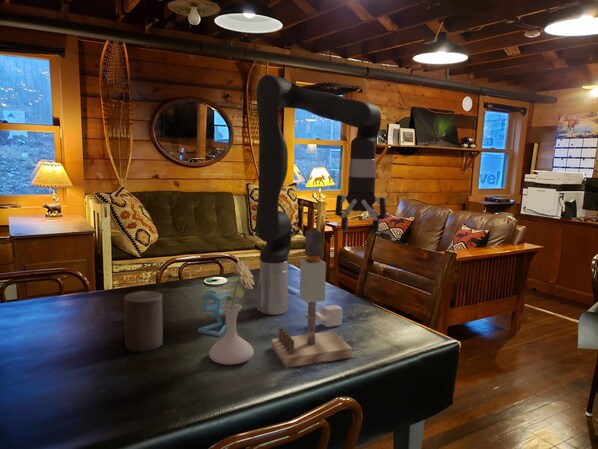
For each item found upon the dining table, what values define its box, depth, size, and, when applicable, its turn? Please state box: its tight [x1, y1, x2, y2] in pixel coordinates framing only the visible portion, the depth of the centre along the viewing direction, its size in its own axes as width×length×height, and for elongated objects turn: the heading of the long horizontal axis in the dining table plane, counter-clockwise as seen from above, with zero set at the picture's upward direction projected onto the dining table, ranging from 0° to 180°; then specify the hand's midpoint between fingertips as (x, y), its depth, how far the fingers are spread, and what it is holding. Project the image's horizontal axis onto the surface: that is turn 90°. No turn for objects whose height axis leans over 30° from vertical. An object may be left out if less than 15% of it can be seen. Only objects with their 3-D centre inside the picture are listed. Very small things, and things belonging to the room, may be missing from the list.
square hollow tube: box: [299, 258, 327, 303], centre depth 115 cm, size 5×5×10 cm
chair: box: [197, 290, 232, 338], centre depth 132 cm, size 8×8×12 cm
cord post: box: [271, 229, 353, 369], centre depth 116 cm, size 18×12×32 cm, turn 111°
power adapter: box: [305, 304, 343, 328], centre depth 136 cm, size 11×5×6 cm, turn 116°
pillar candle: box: [123, 290, 164, 353], centre depth 120 cm, size 10×10×15 cm
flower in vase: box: [208, 260, 255, 365], centre depth 113 cm, size 13×11×25 cm
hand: (359, 232), depth 128 cm, fingers open, 8 cm apart
